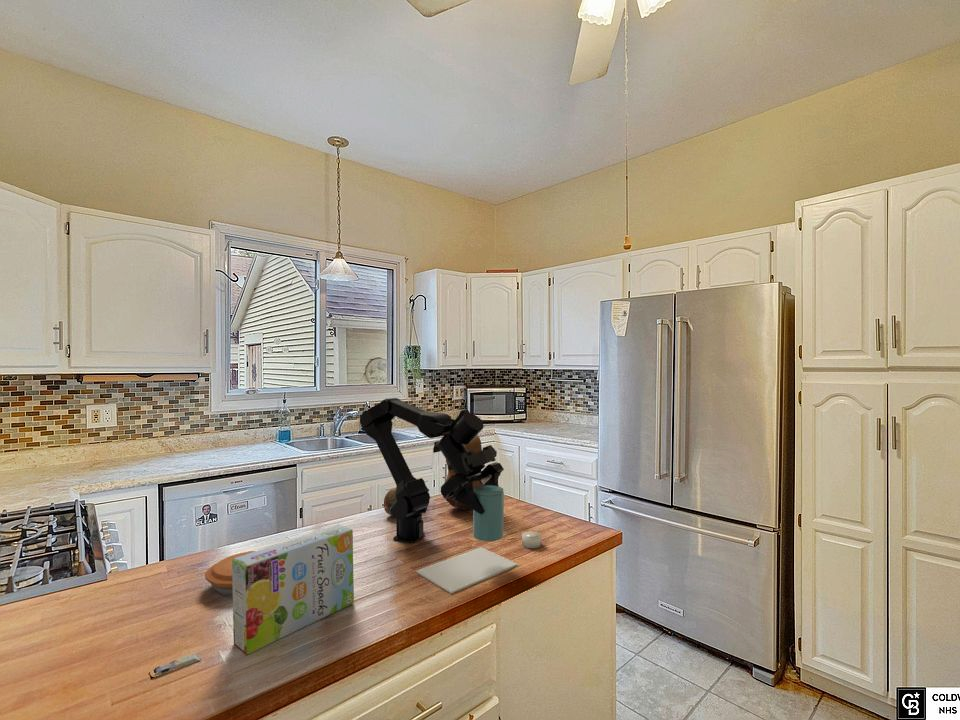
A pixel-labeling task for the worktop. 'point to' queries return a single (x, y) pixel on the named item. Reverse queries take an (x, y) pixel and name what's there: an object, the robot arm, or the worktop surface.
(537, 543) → the cream bowl
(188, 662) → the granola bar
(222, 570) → the pie
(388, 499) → the tin
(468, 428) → the robot arm
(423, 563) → the worktop surface
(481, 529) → the teal cover
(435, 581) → the grey mat
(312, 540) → the snack box
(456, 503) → the butternut squash
